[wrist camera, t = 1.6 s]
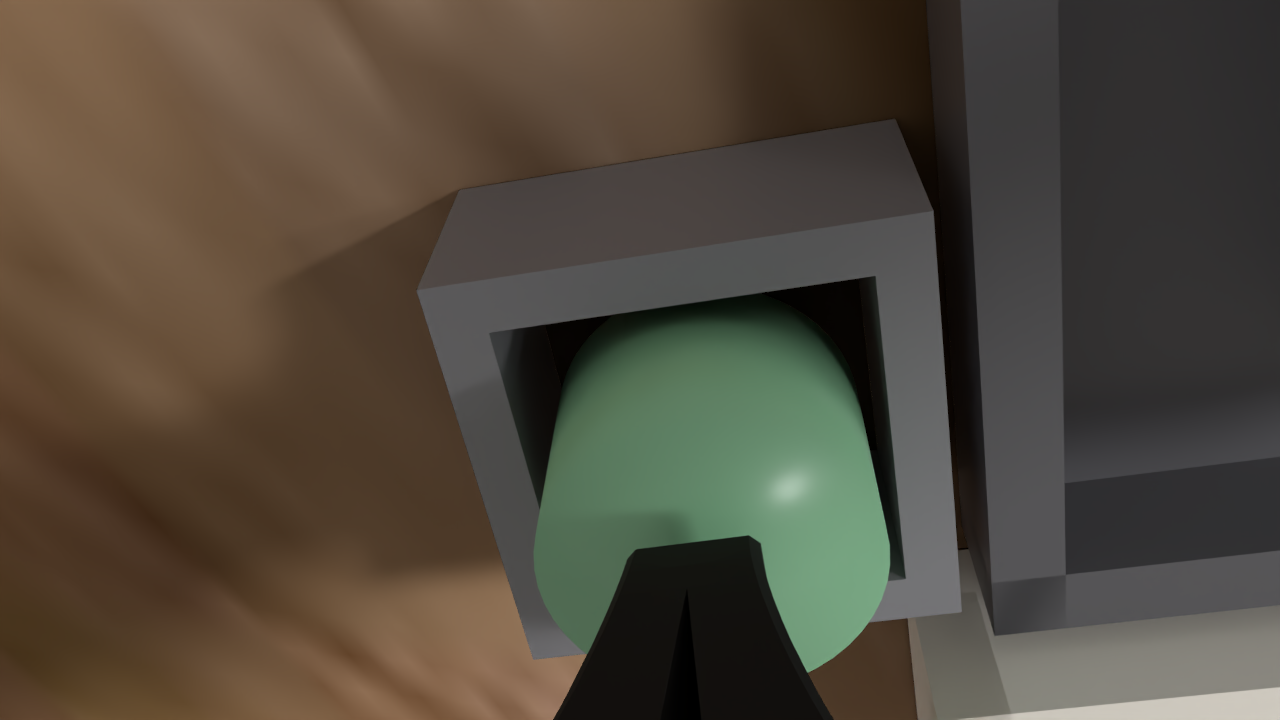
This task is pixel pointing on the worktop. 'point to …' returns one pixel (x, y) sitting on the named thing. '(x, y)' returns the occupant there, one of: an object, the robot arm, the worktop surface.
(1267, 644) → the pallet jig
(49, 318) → the worktop surface
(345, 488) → the worktop surface
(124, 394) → the worktop surface
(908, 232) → the button housing
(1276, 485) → the tote
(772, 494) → the button
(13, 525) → the worktop surface
